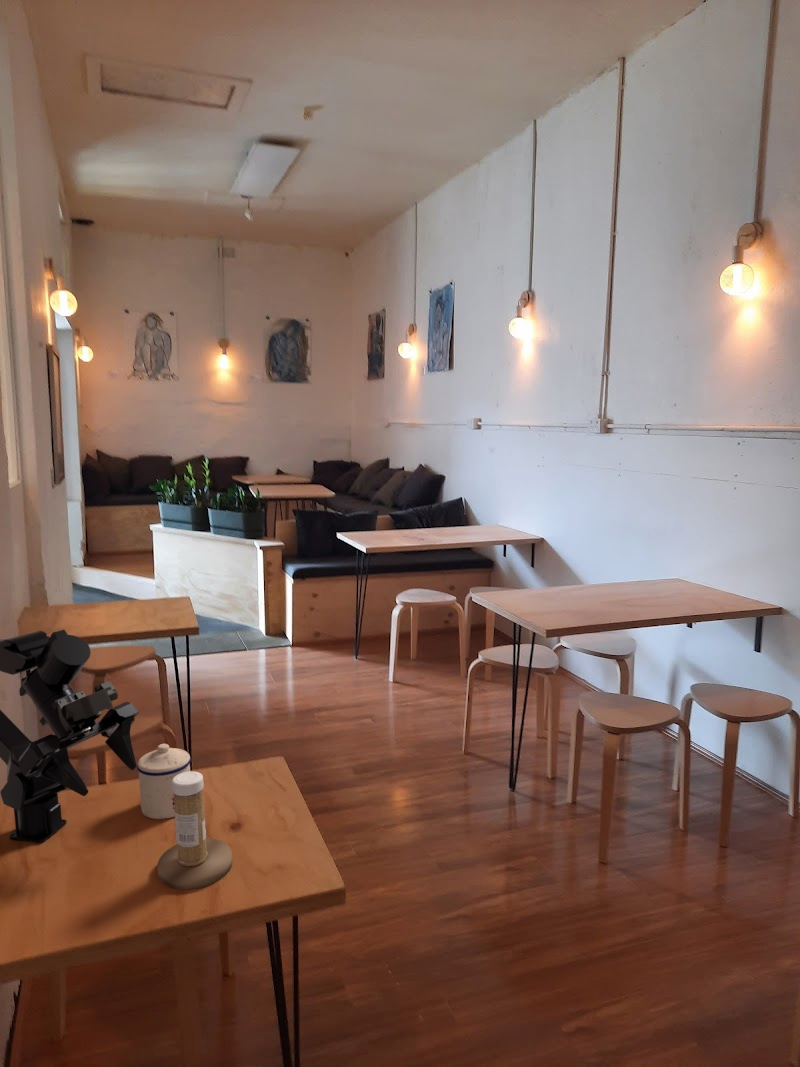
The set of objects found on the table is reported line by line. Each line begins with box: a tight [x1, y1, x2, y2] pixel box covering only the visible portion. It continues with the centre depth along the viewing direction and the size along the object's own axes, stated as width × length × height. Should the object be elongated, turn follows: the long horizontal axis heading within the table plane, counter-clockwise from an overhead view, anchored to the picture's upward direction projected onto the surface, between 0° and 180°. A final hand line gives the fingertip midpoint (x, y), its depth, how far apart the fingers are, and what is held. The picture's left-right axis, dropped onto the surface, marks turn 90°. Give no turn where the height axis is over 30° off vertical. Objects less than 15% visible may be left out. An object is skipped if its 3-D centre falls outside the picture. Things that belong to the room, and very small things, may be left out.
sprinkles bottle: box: [172, 770, 208, 866], centre depth 115 cm, size 5×5×13 cm
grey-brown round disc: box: [157, 837, 233, 890], centre depth 116 cm, size 11×11×2 cm
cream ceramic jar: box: [136, 743, 192, 820], centre depth 135 cm, size 12×9×12 cm
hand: (111, 781), depth 116 cm, fingers open, 9 cm apart
